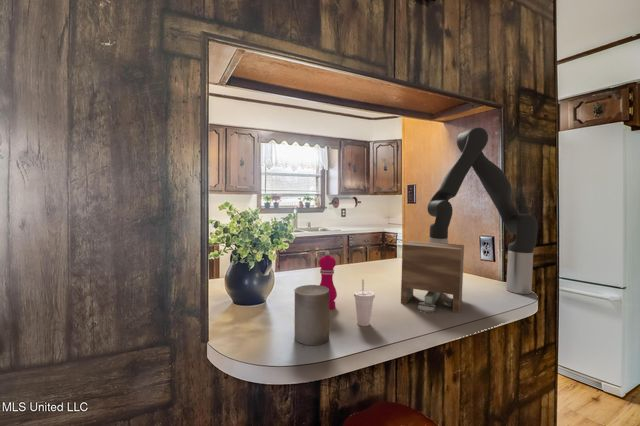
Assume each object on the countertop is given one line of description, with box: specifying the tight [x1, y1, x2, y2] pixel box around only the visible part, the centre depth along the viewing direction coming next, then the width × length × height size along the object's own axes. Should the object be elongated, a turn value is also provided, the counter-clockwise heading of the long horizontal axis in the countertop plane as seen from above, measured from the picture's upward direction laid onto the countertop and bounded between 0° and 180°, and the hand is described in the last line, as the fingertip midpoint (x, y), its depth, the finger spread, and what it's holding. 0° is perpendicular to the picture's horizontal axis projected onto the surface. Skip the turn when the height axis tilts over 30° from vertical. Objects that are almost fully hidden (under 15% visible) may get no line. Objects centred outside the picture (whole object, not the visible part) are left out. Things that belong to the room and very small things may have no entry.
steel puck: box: [417, 301, 437, 314], centre depth 115 cm, size 6×6×2 cm
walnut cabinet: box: [400, 240, 465, 313], centre depth 122 cm, size 12×20×22 cm, turn 62°
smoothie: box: [353, 278, 376, 327], centre depth 101 cm, size 6×6×14 cm
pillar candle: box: [293, 284, 330, 346], centre depth 90 cm, size 10×10×15 cm
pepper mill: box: [318, 250, 338, 310], centre depth 116 cm, size 7×7×20 cm
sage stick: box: [424, 291, 442, 305], centre depth 128 cm, size 23×2×4 cm, turn 152°
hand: (436, 290), depth 134 cm, fingers closed on sage stick, 2 cm apart
